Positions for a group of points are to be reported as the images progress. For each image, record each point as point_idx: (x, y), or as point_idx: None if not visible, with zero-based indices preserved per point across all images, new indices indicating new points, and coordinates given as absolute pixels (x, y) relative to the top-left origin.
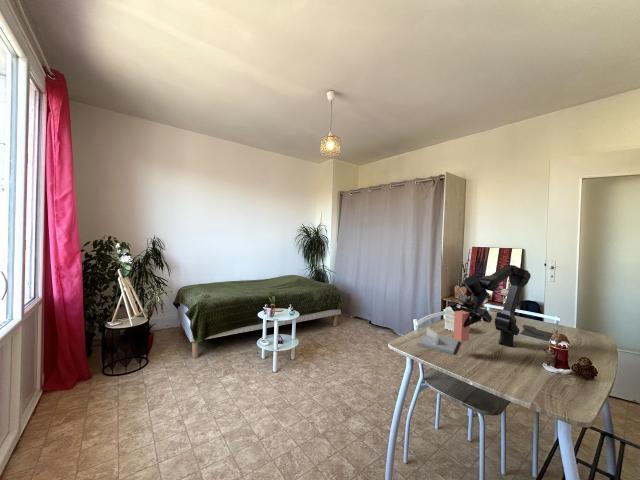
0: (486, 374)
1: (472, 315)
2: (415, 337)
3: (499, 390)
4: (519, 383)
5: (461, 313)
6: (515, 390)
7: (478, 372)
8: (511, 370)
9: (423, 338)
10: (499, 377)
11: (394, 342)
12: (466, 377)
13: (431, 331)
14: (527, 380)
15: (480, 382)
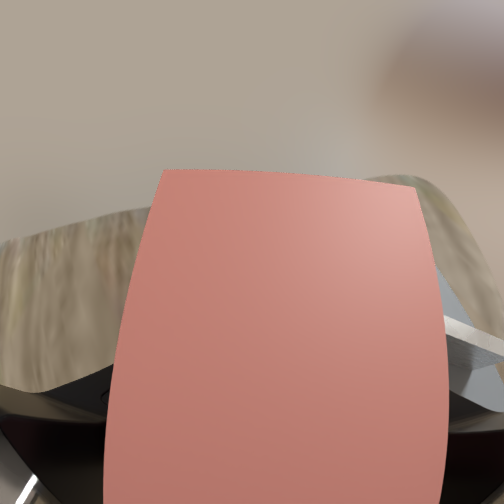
0: (84, 297)
1: (11, 392)
2: (488, 322)
3: (41, 235)
4: (11, 335)
5: (205, 191)
6: (14, 277)
7: (108, 284)
8: None
9: (459, 321)
10: (52, 319)
11: (449, 200)
12: (122, 211)
13: (465, 327)
14: (4, 383)
15: (83, 225)
